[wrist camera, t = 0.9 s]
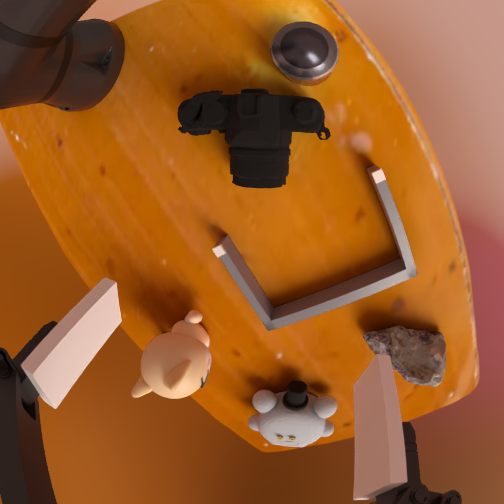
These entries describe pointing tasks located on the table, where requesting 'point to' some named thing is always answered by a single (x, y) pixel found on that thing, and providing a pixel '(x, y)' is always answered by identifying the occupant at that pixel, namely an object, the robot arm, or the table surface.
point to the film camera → (254, 130)
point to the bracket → (332, 295)
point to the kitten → (176, 360)
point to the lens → (305, 53)
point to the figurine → (292, 415)
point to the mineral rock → (411, 353)
